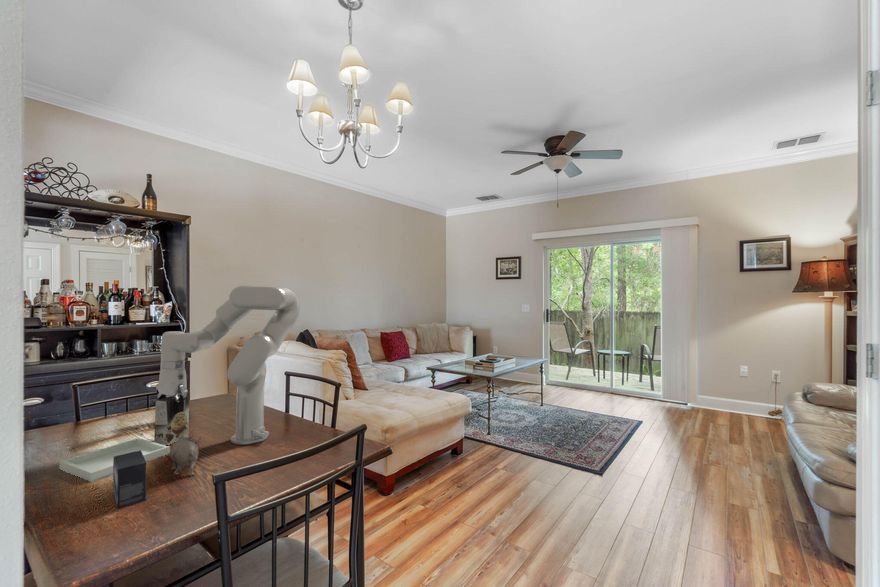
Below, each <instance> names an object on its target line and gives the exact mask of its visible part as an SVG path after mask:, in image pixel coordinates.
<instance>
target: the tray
mask: <svg viewBox="0 0 880 587" xmlns="http://www.w3.org/2000/svg"><path fill="white" fill-rule="evenodd" d="M139 450H141V452H142V454H143V456H144V458H145V460H146V463H148V462H147V461H149V462H151V461H150V460H152V461H154V460H153V459H155V460H157V459H156V458H158V457H161V456H163V457H166V456H169V455H170V454H171V446H170V445H168V446H166V445H162V444H158V443H155V442H154V441H151V440H147V439H143V438H139V437H137V438H133V439H130V440H128V441H124V442H120V443H117V444H113V445H110V446H107V447H104V448H100V449H98V450H94V451H93V450H92V451H89V452H87V453H84V454H83V453H82V454H79V455H77V456H73V457H70V458H66V459H62V460H59V469H61V470H63V471H62V472H64V471H65V472H64V473H67V474H69V473H70V474H69V475H72V474H73V475H72V476H74V475H75V476H74V477H77V476H78V477H77V478H79V477H80V479H82V478H83V479H82V480H84V481H87V480H88V481H87V482H90V483H92V482H95V481H98V480H101V479H104V478H106V477H110V476H113V460H114V456H118V455H123V454H127V453H131V452H135V451H139ZM168 454H169V455H168ZM165 455H166V456H165ZM161 458H162V457H161ZM158 459H159V458H158ZM59 469H58V470H59ZM61 470H60V471H61Z"/></svg>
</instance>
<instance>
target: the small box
mask: <svg viewBox="0 0 880 587" xmlns="http://www.w3.org/2000/svg"><path fill="white" fill-rule="evenodd" d="M112 479H113V480H112V488H113V489H112V490H113V492H112V493H113V497H114V502H115V506H116V509H121V508H124V507H127V506H130V505H131V506H132V505H135V504H137V503H141V502H145V501H147V462H146V460H145V458H144V456H143V454H142V452H141V450H139V451H135V452H131V453H127V454H123V455H118V456H114V460H113V474H112Z"/></svg>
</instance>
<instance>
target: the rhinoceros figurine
mask: <svg viewBox="0 0 880 587" xmlns="http://www.w3.org/2000/svg"><path fill="white" fill-rule="evenodd" d="M193 437H194V435H193V434H190V435H188V437H187V438H185V437H184V436H183V435H182V437H180V438H179V440H176V442H175V443H173V444H172V446H170V454H169V456H170V459H171V460H172V465H173V466H172V467H171V470H173V469H175V470H174V471H173V474H174V473H179V472H181V473H182V471H184V467H186V466H188V465H189V470H188V474H187V476H191V477H192V475H194V476H195V472H194V468H195V465H196V463H197V461H198V458H199V453H200V450H199V449H200V448H199V446H200V445H199V444H200V443H201V440H202V437H199V438H198V440H196V439H193ZM176 468H177V469H176Z"/></svg>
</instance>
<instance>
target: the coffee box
mask: <svg viewBox="0 0 880 587" xmlns="http://www.w3.org/2000/svg"><path fill="white" fill-rule="evenodd" d="M179 397H180V396H178V398H179ZM175 402H176V401H175V399H174V397H172V396H170V397H166V398H163V399H159V400H158V399H156V400H155V410H154V411H155V412H154V419H155V420H154V439H153V440H154V441H153V442H155V443H158V444H162V445H168V446H171V445H173V444H174V442H176V440H179V438H180V437H182V435H183V436H184V437H185V438H188V437H189V432H190V431H189V430H190V429H189V427H190V425H189V419H190V418H189V417H190V416H189V414H190V395H188V394H187V397H186V399H185V401H184V411H183V412H180V413H174V403H175ZM172 443H173V444H172ZM170 444H171V445H170Z"/></svg>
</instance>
